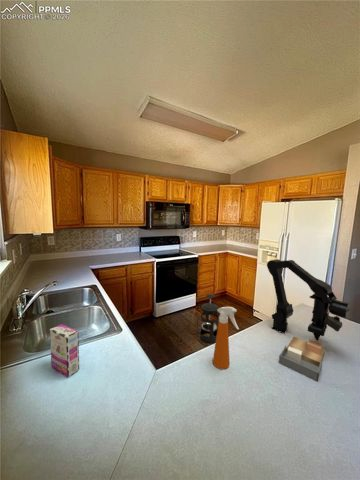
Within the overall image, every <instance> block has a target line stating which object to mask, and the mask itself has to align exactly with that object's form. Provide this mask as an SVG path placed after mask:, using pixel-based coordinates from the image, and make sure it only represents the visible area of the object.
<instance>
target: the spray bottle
mask: <svg viewBox="0 0 360 480" xmlns="http://www.w3.org/2000/svg"><path fill="white" fill-rule="evenodd" d="M217 311H218V312H217V313H219V315H218V316H219V321H218V330H217V337H216V343H214V344H215V345H214V352H213V358H212V364H213V366H215V368H217V369H221V370H226V369H229V367H230V342H229V319H230V321H231V322H232V324H233V326H234V327H235V329H236V330H240V328H239V326H238V324H237V322H236V319H235V313H237V309H236V308H234V306H223V307H219V309H217Z"/></svg>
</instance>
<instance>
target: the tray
mask: <svg viewBox="0 0 360 480" xmlns="http://www.w3.org/2000/svg"><path fill="white" fill-rule="evenodd" d="M287 347H288V345H284V347H283V349H282V351H281V353H280V354H279V358H278V364H281V365H283V366H285V367H287V368H289V369H291V370H293V371H295V372H297V373H299V374H301V375H303V376H305V377H307V378H310V379H312V380H314V381H315V382H319V379H320V375H321V372H322V368H323V360H322V361H321V362H320V365H319V367H318V366H316V365H313V364H311V363H309V362H307V361H304V360H302V359H301V364H299V363H297V362H295V361H292V360H290V359H288V358H287V353H286V348H287Z"/></svg>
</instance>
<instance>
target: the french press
mask: <svg viewBox="0 0 360 480" xmlns="http://www.w3.org/2000/svg"><path fill="white" fill-rule="evenodd" d="M206 297H207V298H209V302H206V303H205V302H204V303H202V304H201V305H200V307H201V312H202V313H201V314H200V315H197V316H196V334H197V335H199V340H200V341H201V343H205V344H209V345H212V344H213V345H214V344H215V343H216V337H217V330H218V324H219V316H220V315H218V313H219V312H218V311H217V309H219V308H220V306H219V305H218V304H215V303H213V302H212V299H213V298H215V297H216V296H215V294H213V293H208V294H206ZM211 315H212V316H214V317H216V319H213V320H211ZM203 316H205V318H204V317H203ZM199 319H200V329H199ZM208 334H209V336H206V335H208Z"/></svg>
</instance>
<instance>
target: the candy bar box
mask: <svg viewBox="0 0 360 480" xmlns="http://www.w3.org/2000/svg"><path fill="white" fill-rule="evenodd" d="M49 336H50V337H49V341H50V363H51V368H52V369H53V370H54V371H57V372H58V373H59V374H61V375H63V376H65V377H67V378H68V379H69V378H70V377H71V376H73V375H74V374H76V373H77V372H79V371H80V351H79V349H80V348H79V347H80V345H79V344H80V343H79V342H80V341H79V340H80V339H79V330H76V329H74V328H72V327H70V326H67V325H65V324H62V323H60V324H59V325H56V326H54V327H52V328H50V329H49Z"/></svg>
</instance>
